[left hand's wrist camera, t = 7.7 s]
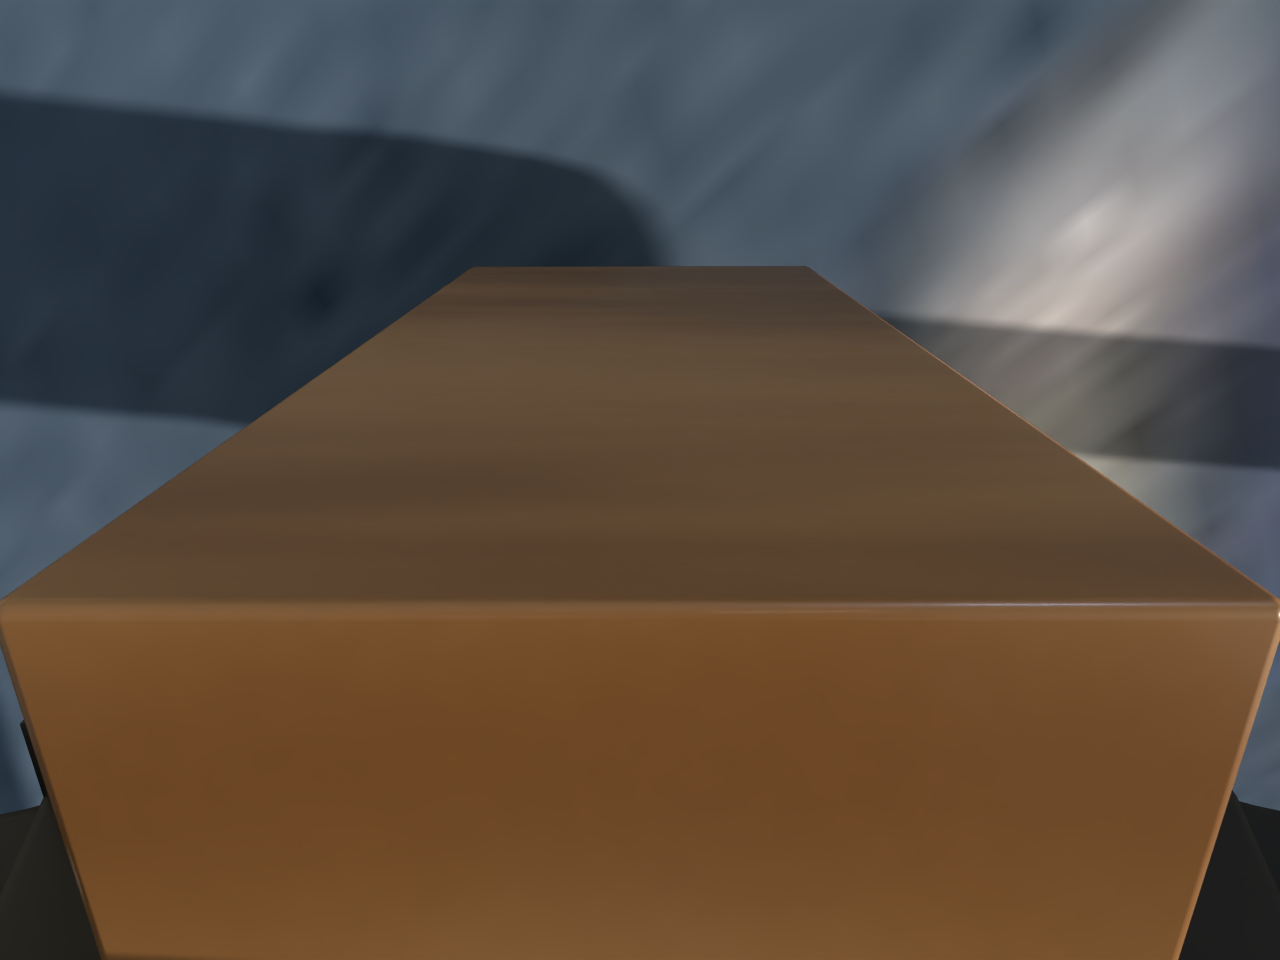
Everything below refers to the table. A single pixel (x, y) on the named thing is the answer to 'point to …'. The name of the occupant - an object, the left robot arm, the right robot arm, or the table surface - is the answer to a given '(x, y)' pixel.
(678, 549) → the box
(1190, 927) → the left robot arm
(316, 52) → the table surface
